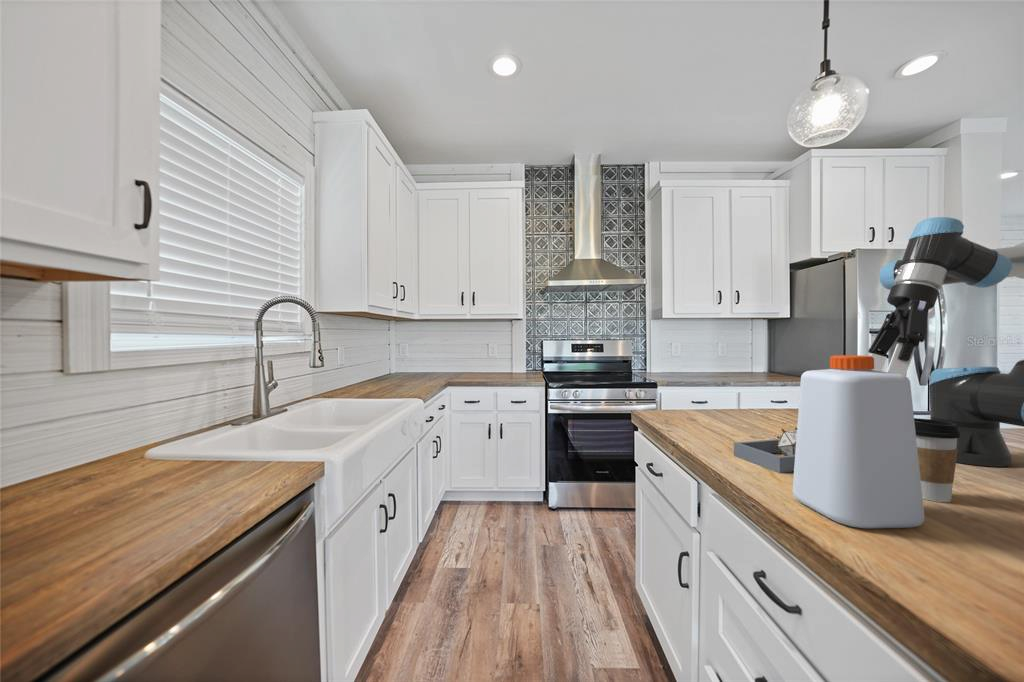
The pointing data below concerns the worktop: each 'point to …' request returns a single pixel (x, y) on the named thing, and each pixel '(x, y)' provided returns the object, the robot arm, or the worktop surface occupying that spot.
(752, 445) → the grey shallow tray
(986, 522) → the worktop surface
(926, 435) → the coffee cup
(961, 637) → the worktop surface
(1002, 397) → the robot arm
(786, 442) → the game die
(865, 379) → the plastic bottle
